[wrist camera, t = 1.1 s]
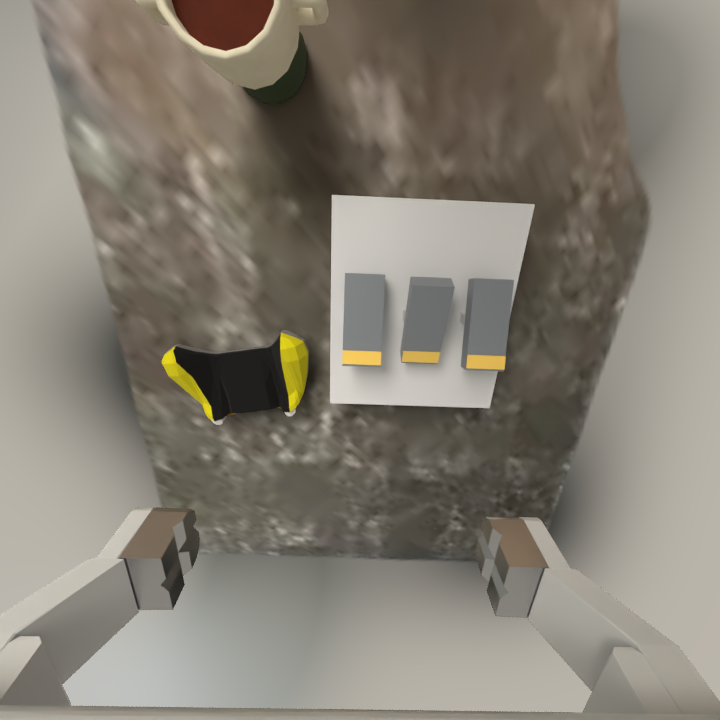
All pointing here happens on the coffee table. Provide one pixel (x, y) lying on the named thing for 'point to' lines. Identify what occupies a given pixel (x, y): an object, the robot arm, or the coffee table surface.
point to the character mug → (245, 39)
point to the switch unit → (399, 263)
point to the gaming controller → (242, 376)
